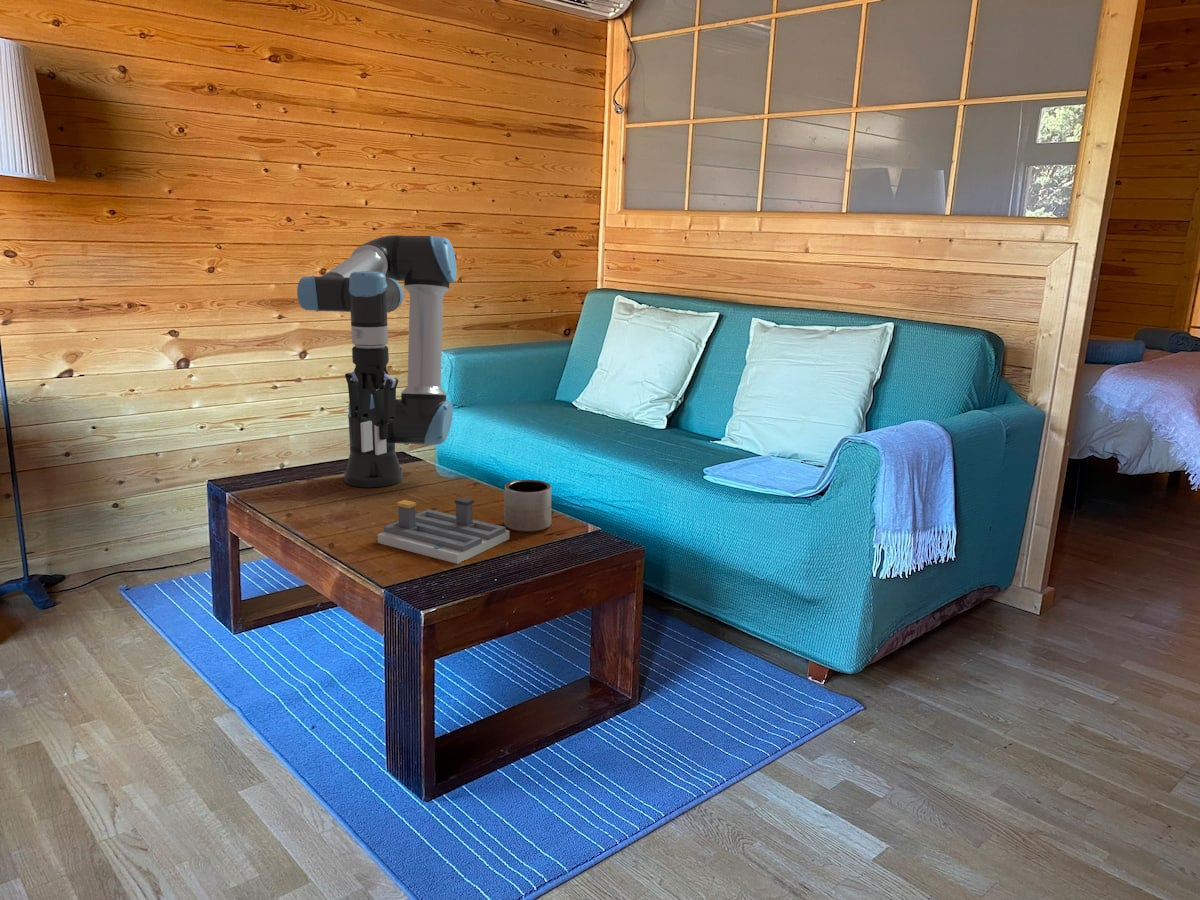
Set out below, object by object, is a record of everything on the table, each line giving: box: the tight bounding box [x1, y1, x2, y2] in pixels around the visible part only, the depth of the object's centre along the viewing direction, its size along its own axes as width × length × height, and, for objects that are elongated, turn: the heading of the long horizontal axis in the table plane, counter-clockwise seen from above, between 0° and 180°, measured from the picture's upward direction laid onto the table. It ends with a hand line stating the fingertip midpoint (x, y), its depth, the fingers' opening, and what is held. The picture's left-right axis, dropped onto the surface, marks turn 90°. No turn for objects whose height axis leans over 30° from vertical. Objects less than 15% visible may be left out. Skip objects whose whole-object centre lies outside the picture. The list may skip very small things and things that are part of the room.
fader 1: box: [396, 499, 418, 531], centre depth 197 cm, size 2×4×6 cm, turn 60°
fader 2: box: [454, 497, 475, 528], centre depth 200 cm, size 2×4×6 cm, turn 59°
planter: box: [503, 479, 552, 533], centre depth 209 cm, size 11×11×10 cm
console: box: [377, 508, 510, 564], centre depth 198 cm, size 18×22×3 cm
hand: (374, 451), depth 198 cm, fingers open, 3 cm apart
